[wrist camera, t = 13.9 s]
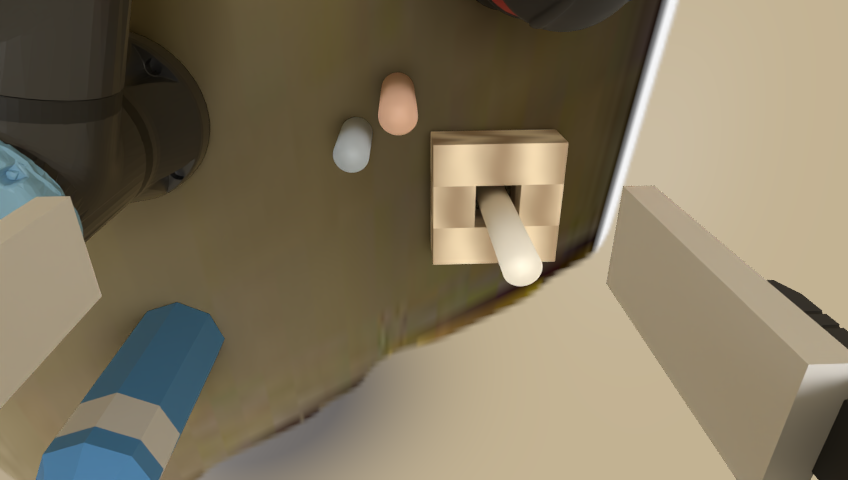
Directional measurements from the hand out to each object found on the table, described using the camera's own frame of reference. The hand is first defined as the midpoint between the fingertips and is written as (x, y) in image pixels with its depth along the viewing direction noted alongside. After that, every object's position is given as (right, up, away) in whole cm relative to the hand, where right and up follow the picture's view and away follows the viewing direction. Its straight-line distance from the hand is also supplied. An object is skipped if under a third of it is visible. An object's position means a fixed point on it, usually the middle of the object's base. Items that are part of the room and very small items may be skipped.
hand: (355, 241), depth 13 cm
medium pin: (-1, +14, +36) cm, 39 cm away
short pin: (-5, +10, +38) cm, 40 cm away
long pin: (+8, +5, +41) cm, 42 cm away
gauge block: (+8, +5, +41) cm, 42 cm away
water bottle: (-26, -11, +48) cm, 55 cm away
